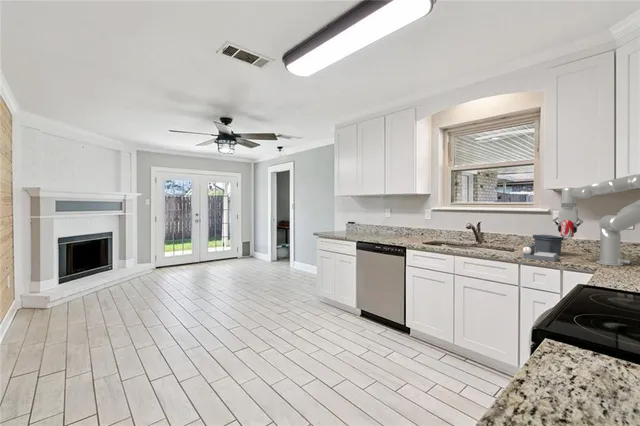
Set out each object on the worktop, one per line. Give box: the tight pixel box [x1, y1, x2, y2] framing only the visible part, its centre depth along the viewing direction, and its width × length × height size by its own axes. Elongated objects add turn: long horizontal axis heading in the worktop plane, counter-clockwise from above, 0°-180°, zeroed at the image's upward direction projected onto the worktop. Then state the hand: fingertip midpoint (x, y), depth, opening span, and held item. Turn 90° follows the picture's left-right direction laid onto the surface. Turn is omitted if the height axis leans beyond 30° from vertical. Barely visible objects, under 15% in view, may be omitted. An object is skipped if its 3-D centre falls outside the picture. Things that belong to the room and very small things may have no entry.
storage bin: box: [532, 234, 565, 257], centre depth 235 cm, size 21×16×14 cm
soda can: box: [560, 219, 575, 239], centre depth 207 cm, size 7×7×12 cm
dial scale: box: [522, 243, 560, 263], centre depth 218 cm, size 18×13×9 cm
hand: (567, 232), depth 207 cm, fingers closed on soda can, 7 cm apart
